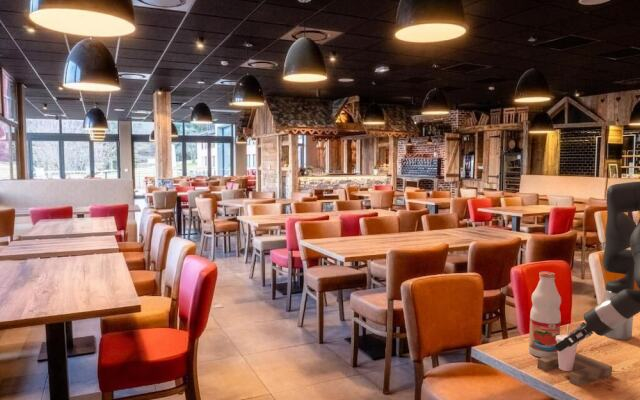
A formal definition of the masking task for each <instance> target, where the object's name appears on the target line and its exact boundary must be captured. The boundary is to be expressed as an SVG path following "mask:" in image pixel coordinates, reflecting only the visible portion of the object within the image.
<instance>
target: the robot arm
mask: <svg viewBox="0 0 640 400" xmlns="http://www.w3.org/2000/svg"><path fill="white" fill-rule="evenodd" d="M605 195H606V214H607V215H606V225H605V246H604V251H603V257H602V266H603V269H604V270H605V271H606V272H607V273H612V274H613V273H614V274H620V275H624V276H623V277H621V278H619V279H613V280H609V281H607V282H606V283H605V292H604V300H603V301H601V302H600V303H599V304H597V305H596V306H594V307H593V308H591V309H589V310H588V311H587V312H585V313H584V314H583V319H584V321H582V323H580V324H578V326H576V327H575V328H574V329H573V330H572V331H571V332H570V331H569V336H568V337H565V338H564V340H562V341H561V342H559V343H558V344H556V345H555V347H556V349H557V350H558V351H559V352H560V351H562V350H564V349H565V348H567V347H568V346H569V347H570V346H572V345H573V344H575V343H581V342H582V341H583V340H585V339H588V338H589V337H590V336H592V335H593V334H596V335H597V336H600V337H603V336H605V337H608V338H610V339H614V340H615V339H616V340H623V341H626V340H630V339H631V338H632V336H633V323H634V322H633V321H634V316H636V315H637V314H639V313H640V218H639V219H638V222H637V224H636V221H635V220H634V219H633V218H632V217H631V216H629V215H628V214H626V213H630V212H631V213H632V212H640V181H630V182H623V183H622V182H621V183H614V184H612V185H610V186H608V188H607V190H606V194H605ZM629 248H630V249H629ZM635 284H636V286H637V288H638V289H635ZM569 338H571V339H572V340H573V342H571V341H570V340H569Z"/></svg>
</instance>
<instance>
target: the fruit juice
mask: <svg viewBox="0 0 640 400" xmlns="http://www.w3.org/2000/svg"><path fill="white" fill-rule="evenodd" d="M538 275H539V276H538V277H539V281H538V282H537V283H538V284H537V286H536V287H535V290H534V291H533V292H532V294H531V302H532V307H531V309H530V313H529V314H530V315H529V318H530V319H529V337H528V340H529V341H528V352H529V353H530V354H531V355H533V356H535V357H538V358H543V357H547V356H551V355H555V354H558V350H557V349H556V347H555V345H556V344H557V341H556V336H557V335H561V321H562V320H561V319H562V318H561V317H562V316H561V315H562V314H561V311H560V306H561V304H562V297H561V296H560V294H559V291H558V288H557V286H556V283H555V280H556V273H554V272H550V271H540V272H539V274H538Z"/></svg>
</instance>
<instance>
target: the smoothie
mask: <svg viewBox="0 0 640 400" xmlns="http://www.w3.org/2000/svg"><path fill="white" fill-rule="evenodd" d="M566 327H567V328H566V334H560V335H557V336H556V341H557V344H558V343H559V342H561V341H562V340H564V338H565V337H568V336H569V335H570V324H567V326H566ZM569 340H570V341H571V342H573V340H572V339H571V338H569ZM579 343H580V342H579ZM579 343H575V344H573V345H572V346H570V347H569V346H568V347H567V348H565V349H564V350H562V351H560V352H559V351H558V362H559V370H561V371H564V372H573V371H572V369H573V364H574V359H575V354H576V353H577V350H578V349H577V348H578V344H579Z"/></svg>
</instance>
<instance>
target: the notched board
mask: <svg viewBox="0 0 640 400" xmlns="http://www.w3.org/2000/svg"><path fill="white" fill-rule="evenodd" d="M536 365H537V366H536V367H537V369H539V370H541V371H543V372H547V371H551V370H555V369H558V368H559V362H558V354H555V355H551V356H547V357H543V358H541V357H538V358H537V364H536ZM612 375H613V366H612V365H609V364H607V363H604V362H602V361H598V360H596V359H594V358H591V357H588V356H586V355H583V354H581V353H578V352H576V354H575V359H574V364H573V369H572V371H569V384H573V385H575V386H577V387H580V386H584V385H586V384H587V385H588V384H589V383H593V382H597V381H599V380H603V379H607V378H610V377H612Z"/></svg>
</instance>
